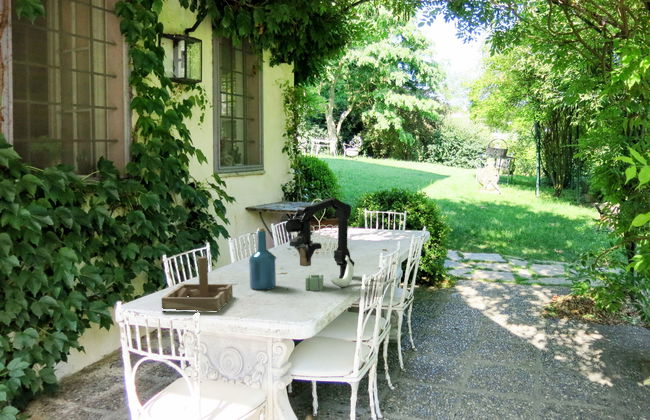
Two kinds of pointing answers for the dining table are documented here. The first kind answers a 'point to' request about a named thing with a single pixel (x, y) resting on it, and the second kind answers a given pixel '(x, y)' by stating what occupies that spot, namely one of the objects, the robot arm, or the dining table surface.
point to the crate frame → (197, 303)
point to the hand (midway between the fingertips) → (305, 261)
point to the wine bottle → (262, 265)
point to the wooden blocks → (201, 283)
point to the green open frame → (314, 282)
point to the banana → (345, 275)
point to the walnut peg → (304, 257)
